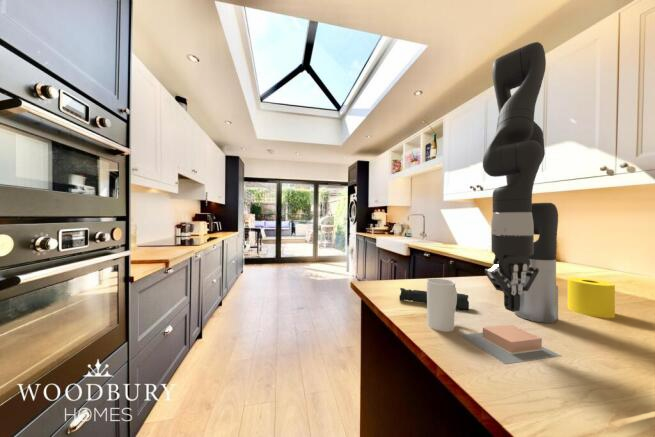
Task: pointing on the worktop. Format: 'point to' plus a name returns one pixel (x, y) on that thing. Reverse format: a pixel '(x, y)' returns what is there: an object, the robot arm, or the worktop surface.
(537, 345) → the tile
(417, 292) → the flashlight
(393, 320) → the worktop surface
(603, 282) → the tape roll
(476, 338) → the mat
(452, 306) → the mug
